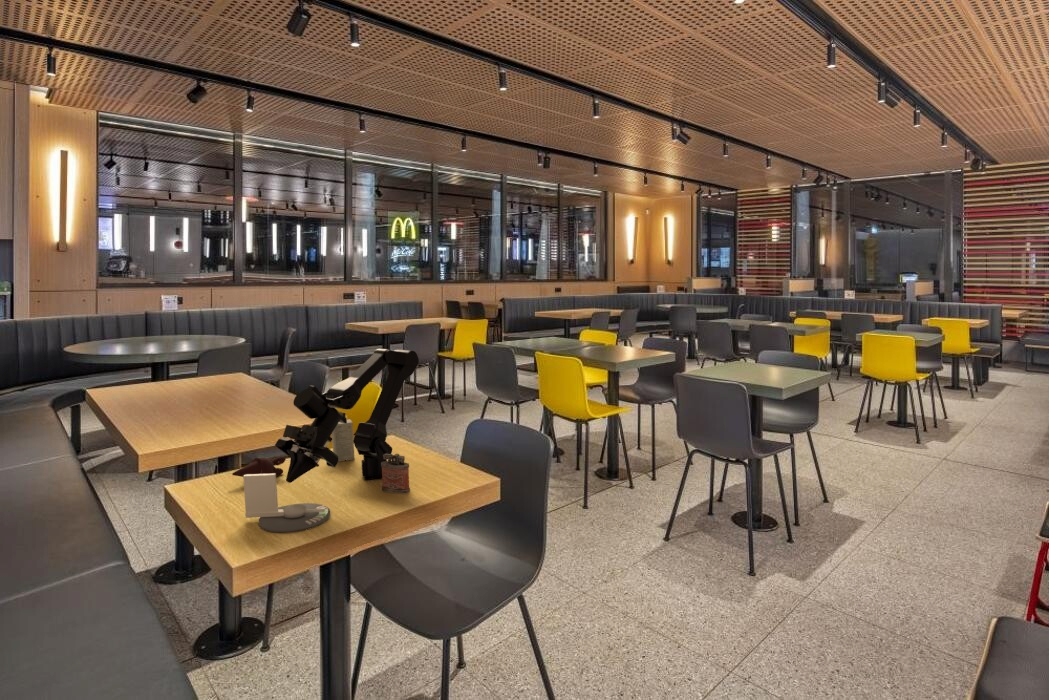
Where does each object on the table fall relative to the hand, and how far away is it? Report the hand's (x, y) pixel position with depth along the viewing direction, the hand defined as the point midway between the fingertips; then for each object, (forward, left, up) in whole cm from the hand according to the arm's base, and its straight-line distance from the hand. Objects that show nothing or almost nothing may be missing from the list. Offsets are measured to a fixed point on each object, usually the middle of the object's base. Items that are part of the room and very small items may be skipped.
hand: (288, 481), depth 153 cm
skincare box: (-15, -38, -7) cm, 41 cm away
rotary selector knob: (0, +7, -6) cm, 9 cm away
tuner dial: (-2, +8, -7) cm, 10 cm away
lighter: (-27, -4, -7) cm, 28 cm away
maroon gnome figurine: (+9, -25, -7) cm, 27 cm away
